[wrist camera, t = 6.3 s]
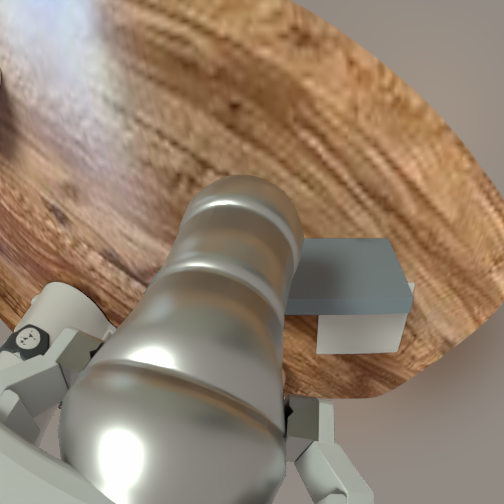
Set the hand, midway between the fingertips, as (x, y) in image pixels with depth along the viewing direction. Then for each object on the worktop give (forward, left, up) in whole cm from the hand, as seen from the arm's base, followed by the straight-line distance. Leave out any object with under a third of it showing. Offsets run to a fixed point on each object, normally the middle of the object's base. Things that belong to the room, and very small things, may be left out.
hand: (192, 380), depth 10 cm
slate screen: (-9, -4, -23) cm, 25 cm away
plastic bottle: (+1, 0, -12) cm, 12 cm away
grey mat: (-14, -15, -23) cm, 31 cm away
